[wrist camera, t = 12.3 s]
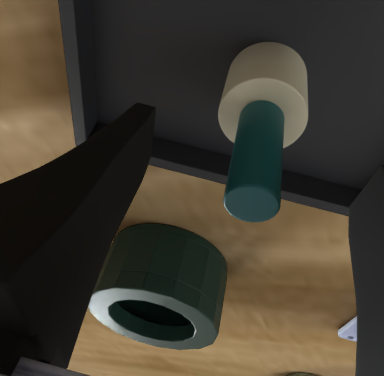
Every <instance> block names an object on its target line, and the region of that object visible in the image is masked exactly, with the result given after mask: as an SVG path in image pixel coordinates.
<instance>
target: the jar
mask: <svg viewBox="0 0 384 376" xmlns="http://www.w3.org/2000/svg"><path fill="white" fill-rule="evenodd" d="M226 281H227V265H226V261H225V259H224V257H223V256H222V254H221V253H220V252H219V250H218V249H217V248H216V247H214V246H213V245H212V244H211V243H210V242H208V241H207V240H205V239H204V238H202V237H200V236H198V235H196V234H194V233H192V232H189V231H187V230H184V229H181V228H178V227H174V226H169V225H163V224H139V225H134V226H130V227H128V228H126V229H124V230H122V231H121V232H120V233H119V234H118V235H117V236H116V237H115V239H114V242H113V243H112V245H111V246H110V248H109V250H108V253H107V256H106V258H105V261H104V264H103V266H102V269H101V272H100V274H99V277H98V280H97V283H96V285H95V288H94V291H93V293H92V296H91V299H90V302H89V305H88V306H89V310H90V312H91V313H92V314H93V315H94V316H95V317H96V318H97V319H98V320H99V321H100V322H101V323H102V324H104V325H105V326H107V327H109V328H110V329H112V330H113V331H115V332H116V333H119V334H121V335H123V336H126V337H128V338H130V339H133V340H135V341H138V342H142V343H146V344H149V345H153V346H157V347H162V348H169V349H177V350H184V349H200V348H203V347H206V346H208V345H211V344H213V342H214V341H215V339H216V337H217V336H218V332H219V326H220V320H221V313H222V307H223V301H224V294H225V288H226Z"/></svg>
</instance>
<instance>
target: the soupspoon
mask: <svg viewBox="0 0 384 376" xmlns="http://www.w3.org/2000/svg"><path fill="white" fill-rule="evenodd" d="M287 376H314V375H312V374H309V373H297V374H296V373H294V374H289V375H287Z"/></svg>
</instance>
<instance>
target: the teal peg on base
mask: <svg viewBox="0 0 384 376" xmlns="http://www.w3.org/2000/svg"><path fill="white" fill-rule="evenodd" d="M218 119H219V124H220V126H221V129H222V131H223V132H224V134H225V135H226V136H227V138H228V139H229V140H231V141H232V142H233V143H234V147H233V152H232V157H231V162H230V168H229V173H228V178H227V183H226V188H225V193H224V198H223V202H224V206H225V208H226V210H227V211H228V212H229V213H230V214H231V215H232V216H234V217H235V218H237V219H240V220H242V221H246V222H263V221H266V220H269V219H271V218H273V217H274V216H275V215H276V214H277V213H278V211H279V209H280V203H281V182H282V161H283V148H285V147H287V146H289V145H290V144H292V143H293V142H295V141H296V140H297V139H298V138H299V137H300V135H301V134H302V133H303V131H304V129H305V127H306V125H307V121H308V87H307V70H306V66H305V64H304V61H303V60H302V58H301V57H300V55H299V54H298V53H297V52H296V51H294V50H293V49H292V48H290V47H288V46H286V45H284V44H281V43H276V42H261V43H257V44H254V45H251V46H249V47H247V48H246V49H244V50H243V51H241V52H240V53H239V54H238V55H237V56H236V57H235V59H234V60H233V62H232V64H231V66H230V69H229V72H228V76H227V79H226V83H225V87H224V90H223V94H222V98H221V101H220V105H219V110H218Z"/></svg>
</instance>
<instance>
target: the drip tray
mask: <svg viewBox="0 0 384 376" xmlns="http://www.w3.org/2000/svg"><path fill="white" fill-rule="evenodd" d="M58 4H59V12H60V20H61V28H62V37H63V45H64V53H65V61H66V70H67V78H68V86H69V94H70V103H71V111H72V119H73V127H74V136H75V144H76V146H78V145H80V144H81V143H83V142H84V141H86V140H87V139H89V138H90V137H92V136H93V135H95V134H96V133H97V132H99V131H100V130H102V129H103V128H104V127H106V126H107V125H109V124H110V123H111V122H112V121H114V120H115V119H116V118H118V117H119V116H120V115H121V114H123V113H124V112H125V111H126V110H128V109H129V108H130V107H131V106H133V105H134V104H136V103H137V102H138V103H142V104H146V105H150V106H154V107H156V113H155V124H154V134H153V145H152V155H151V158H150V161H149V165H152V166H156V167H160V168H164V169H168V170H172V171H176V172H179V173H183V174H187V175H191V176H195V177H199V178H203V179H206V180H210V181H214V182H218V183H222V184H226V183H227V178H228V173H229V168H230V162H231V157H232V152H233V147H234V143H233V142H232V141H231V140H229V139H228V138H227V136H226V135H225V134H224V132H223V131H222V129H221V126H220V124H219V119H218V110H219V105H220V101H221V98H222V94H223V90H224V87H225V83H226V79H227V76H228V72H229V69H230V66H231V64H232V62H233V60H234V59H235V57H236V56H237V55H238V54H239V53H240V52H241V51H243V50H244V49H246V48H247V47H249V46H251V45H254V44H257V43H261V42H276V43H281V44H284V45H286V46H288V47H290V48H292V49H293V50H294V51H296V52H297V53H298V54H299V55H300V57H301V58H302V60H303V61H304V64H305V66H306V70H307V87H308V121H307V125H306V127H305V129H304V131H303V133H302V134H301V135H300V137H299V138H298V139H297V140H296V141H295V142H293V143H292V144H290V145H289V146H287V147H285V148H283V161H282V182H281V199H284V200H288V201H291V202H295V203H299V204H303V205H307V206H311V207H315V208H319V209H322V210H326V211H330V212H334V213H338V214H342V215H346V216H349V209H350V205H351V204H352V203H353V201H354V200H355V199H356V197H357V196H358V195H359V193H360V192H361V191H362V190H363V188H364V187H365V186H366V184H367V183H368V182H369V181H370V179H371V178H372V177H373V175H374V174H375V173H376V171H377V170H378V169H379V168H380V166H381V165H384V0H58Z"/></svg>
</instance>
